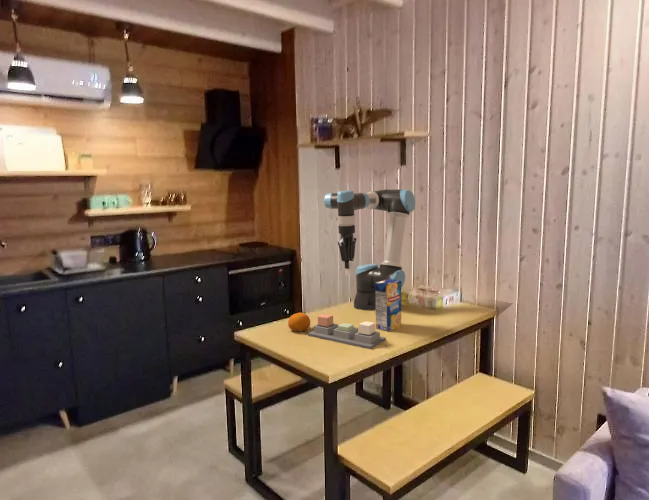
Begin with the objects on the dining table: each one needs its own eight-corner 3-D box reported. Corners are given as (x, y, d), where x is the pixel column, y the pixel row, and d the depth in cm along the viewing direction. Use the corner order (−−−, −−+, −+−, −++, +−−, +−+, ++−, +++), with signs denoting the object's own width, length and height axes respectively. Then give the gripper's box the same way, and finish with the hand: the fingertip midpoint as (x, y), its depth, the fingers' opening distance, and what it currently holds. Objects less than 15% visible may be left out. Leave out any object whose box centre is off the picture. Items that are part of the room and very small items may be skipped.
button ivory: (365, 329, 214) (365, 321, 213) (375, 331, 211) (375, 322, 211) (359, 333, 210) (359, 324, 209) (369, 335, 207) (369, 326, 207)
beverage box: (375, 328, 230) (375, 282, 226) (389, 323, 237) (389, 278, 234) (387, 331, 225) (386, 285, 221) (401, 325, 232) (401, 280, 229)
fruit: (286, 327, 235) (286, 311, 233) (308, 325, 237) (307, 309, 235) (289, 334, 225) (289, 317, 223) (312, 332, 227) (311, 315, 225)
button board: (324, 327, 233) (324, 319, 232) (385, 340, 213) (385, 331, 213) (307, 335, 222) (307, 326, 221) (370, 349, 203) (370, 339, 202)
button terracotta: (324, 322, 227) (324, 313, 226) (333, 323, 224) (333, 315, 223) (318, 324, 223) (317, 316, 222) (327, 326, 220) (326, 318, 219)
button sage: (344, 331, 221) (344, 322, 220) (353, 333, 218) (353, 324, 217) (338, 334, 217) (337, 325, 216) (347, 336, 214) (347, 327, 213)
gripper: (347, 222, 230) (349, 271, 235) (331, 226, 220) (334, 277, 224) (360, 223, 226) (362, 272, 230) (346, 227, 215) (348, 279, 220)
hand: (348, 274), depth 227 cm, fingers closed
